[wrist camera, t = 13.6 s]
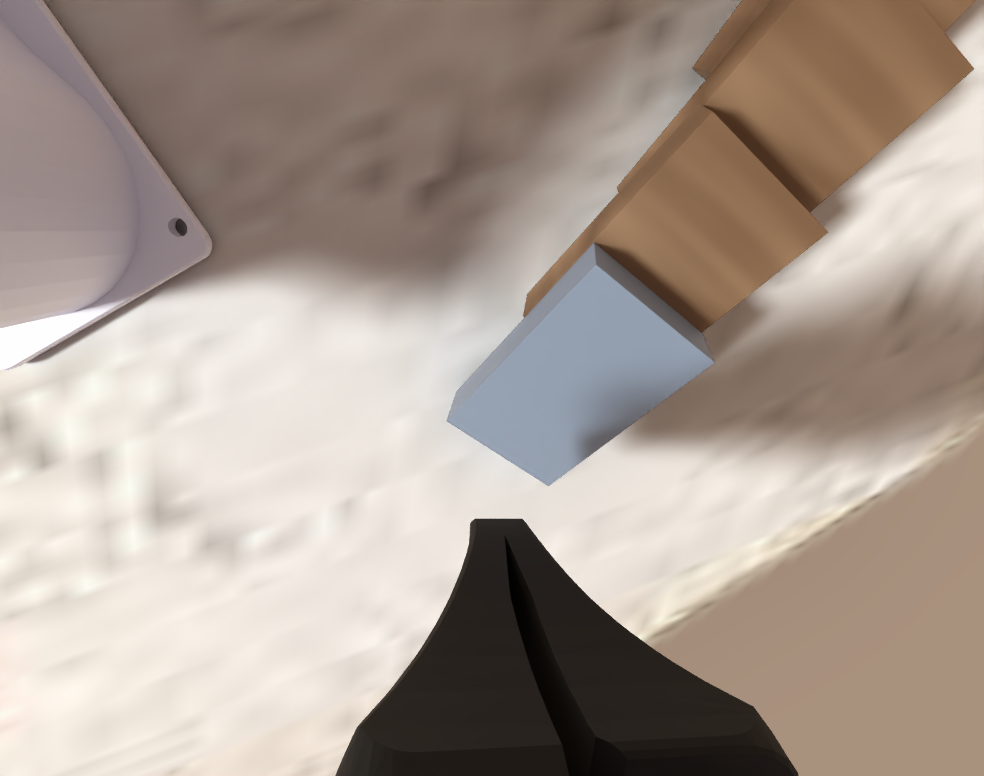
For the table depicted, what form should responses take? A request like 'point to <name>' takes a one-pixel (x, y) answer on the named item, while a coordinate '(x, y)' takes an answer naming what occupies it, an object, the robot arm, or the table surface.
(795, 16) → the domino
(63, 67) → the robot arm
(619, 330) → the domino
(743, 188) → the domino
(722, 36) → the domino
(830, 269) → the table surface
